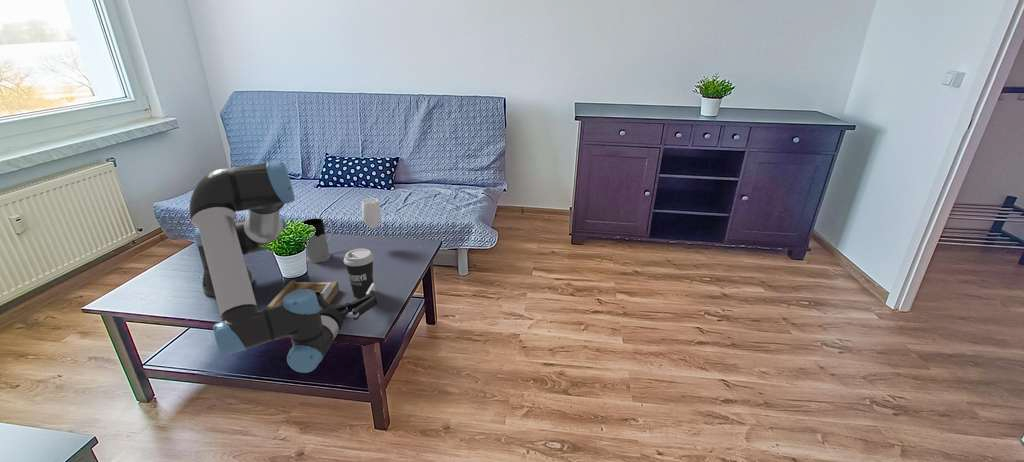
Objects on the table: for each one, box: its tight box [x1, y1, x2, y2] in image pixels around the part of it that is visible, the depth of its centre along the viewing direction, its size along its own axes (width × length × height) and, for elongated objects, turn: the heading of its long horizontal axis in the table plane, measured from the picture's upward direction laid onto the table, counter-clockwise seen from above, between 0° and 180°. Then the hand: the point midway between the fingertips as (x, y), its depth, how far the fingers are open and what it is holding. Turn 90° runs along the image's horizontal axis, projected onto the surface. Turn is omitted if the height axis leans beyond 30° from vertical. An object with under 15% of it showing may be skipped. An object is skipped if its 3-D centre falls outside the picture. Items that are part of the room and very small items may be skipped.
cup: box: [361, 197, 382, 230], centre depth 184 cm, size 7×7×21 cm
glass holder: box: [301, 217, 334, 264], centre depth 180 cm, size 9×14×15 cm, turn 158°
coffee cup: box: [343, 248, 375, 300], centre depth 153 cm, size 10×10×15 cm
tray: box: [266, 280, 340, 310], centre depth 150 cm, size 16×16×4 cm
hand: (352, 286), depth 144 cm, fingers open, 13 cm apart
